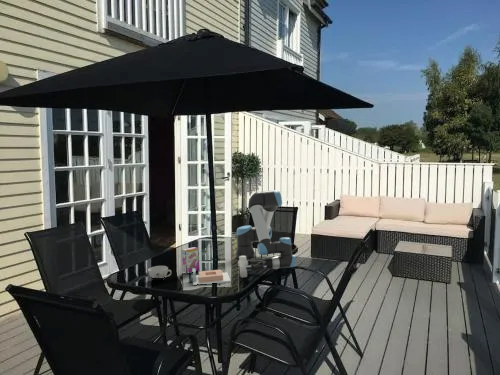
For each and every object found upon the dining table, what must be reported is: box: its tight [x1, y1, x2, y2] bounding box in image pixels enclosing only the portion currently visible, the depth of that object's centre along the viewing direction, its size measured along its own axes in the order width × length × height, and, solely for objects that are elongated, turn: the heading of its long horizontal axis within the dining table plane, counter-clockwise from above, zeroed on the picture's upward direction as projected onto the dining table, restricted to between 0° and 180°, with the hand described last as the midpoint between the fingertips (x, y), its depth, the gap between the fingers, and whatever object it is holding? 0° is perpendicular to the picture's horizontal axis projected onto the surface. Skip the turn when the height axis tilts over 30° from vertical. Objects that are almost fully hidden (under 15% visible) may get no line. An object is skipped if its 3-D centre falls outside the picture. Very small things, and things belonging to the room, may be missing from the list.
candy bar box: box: [181, 246, 200, 273], centre depth 290 cm, size 11×5×16 cm, turn 134°
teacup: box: [147, 265, 172, 279], centre depth 274 cm, size 15×12×8 cm
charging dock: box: [192, 268, 232, 286], centre depth 269 cm, size 20×23×7 cm
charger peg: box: [238, 256, 248, 278], centre depth 272 cm, size 4×4×13 cm
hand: (239, 266), depth 271 cm, fingers open, 13 cm apart
